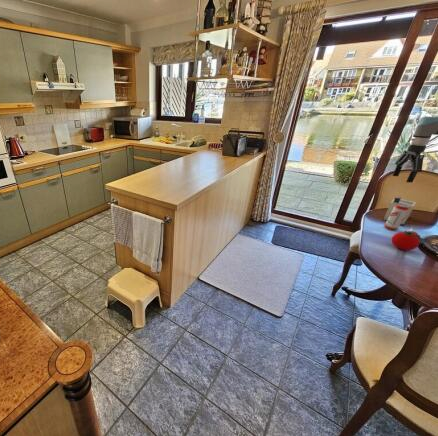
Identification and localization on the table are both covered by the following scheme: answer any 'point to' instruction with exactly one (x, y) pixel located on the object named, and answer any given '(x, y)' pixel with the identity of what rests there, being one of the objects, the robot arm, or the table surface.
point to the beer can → (396, 217)
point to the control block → (420, 239)
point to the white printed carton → (405, 202)
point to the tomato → (405, 240)
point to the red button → (413, 232)
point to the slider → (397, 199)
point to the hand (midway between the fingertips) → (401, 179)
